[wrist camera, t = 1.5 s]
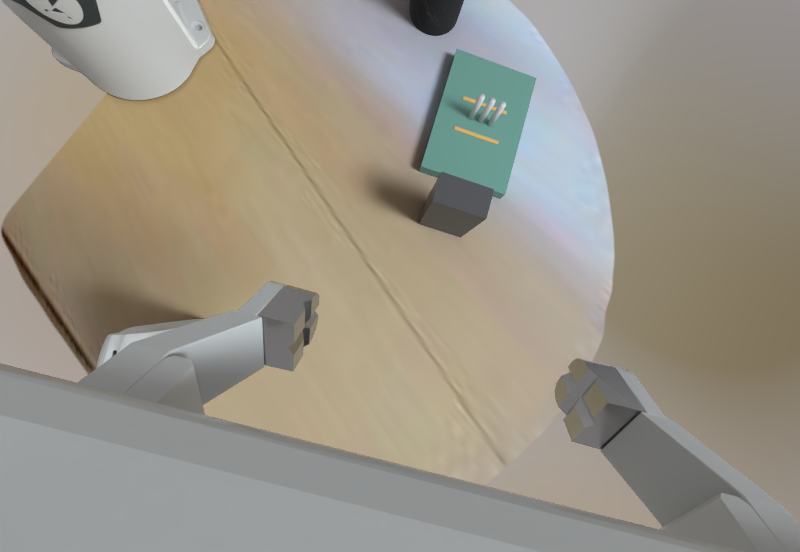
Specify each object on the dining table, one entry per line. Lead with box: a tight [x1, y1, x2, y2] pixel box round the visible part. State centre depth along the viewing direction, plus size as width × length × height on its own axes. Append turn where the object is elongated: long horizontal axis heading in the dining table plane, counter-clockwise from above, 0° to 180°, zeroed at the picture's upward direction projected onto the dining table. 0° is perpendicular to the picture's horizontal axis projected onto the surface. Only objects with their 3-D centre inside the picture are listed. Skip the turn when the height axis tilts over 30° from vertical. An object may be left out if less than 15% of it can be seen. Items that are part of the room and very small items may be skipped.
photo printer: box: [96, 319, 203, 369], centre depth 29 cm, size 10×4×12 cm, turn 1°
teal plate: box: [419, 49, 536, 198], centre depth 39 cm, size 12×18×6 cm, turn 163°
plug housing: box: [419, 172, 494, 237], centre depth 35 cm, size 6×3×9 cm, turn 73°
